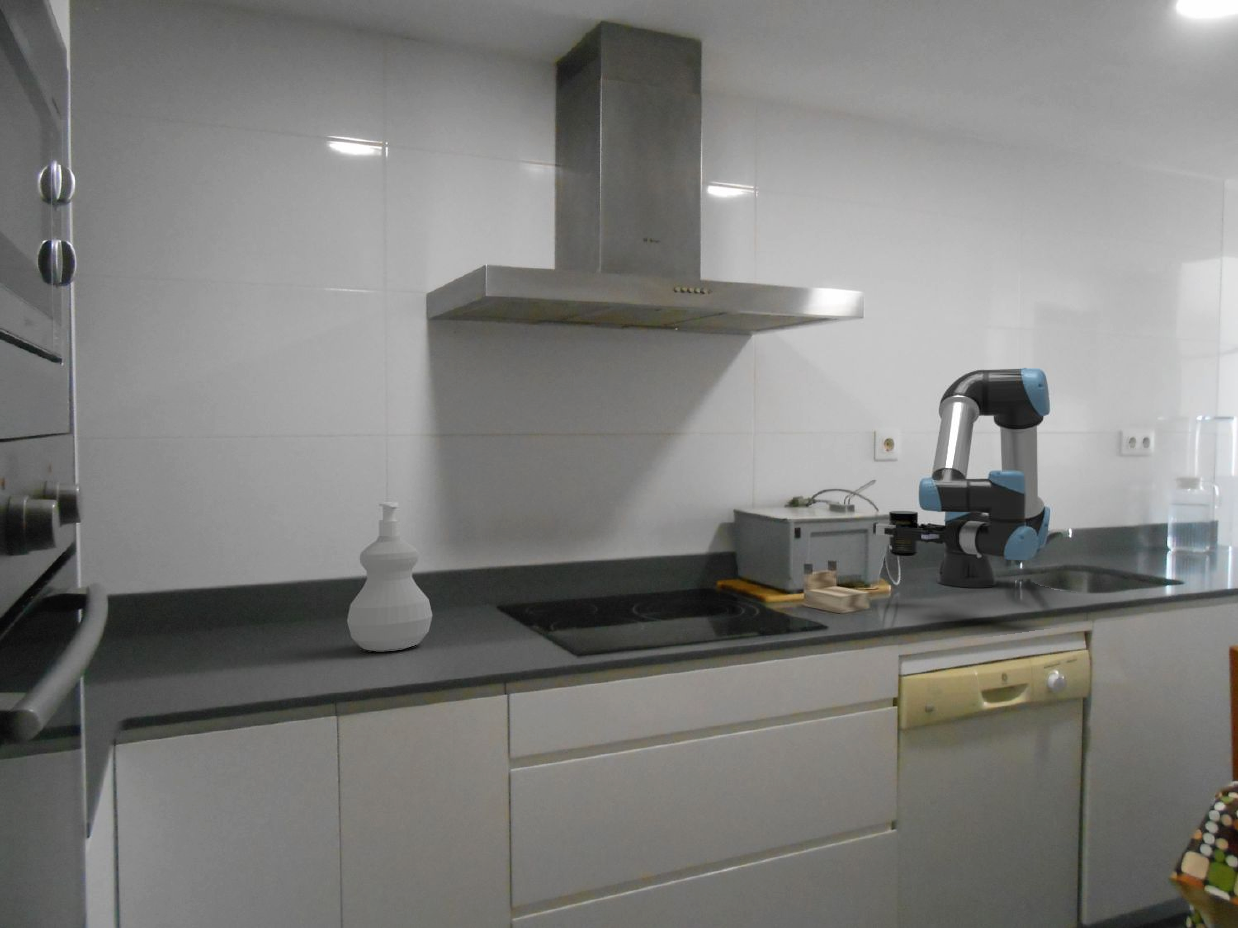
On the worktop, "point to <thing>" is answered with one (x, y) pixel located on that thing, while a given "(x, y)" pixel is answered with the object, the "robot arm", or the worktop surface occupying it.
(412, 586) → the soap bottle
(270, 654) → the worktop surface
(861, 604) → the holder
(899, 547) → the supplement container
